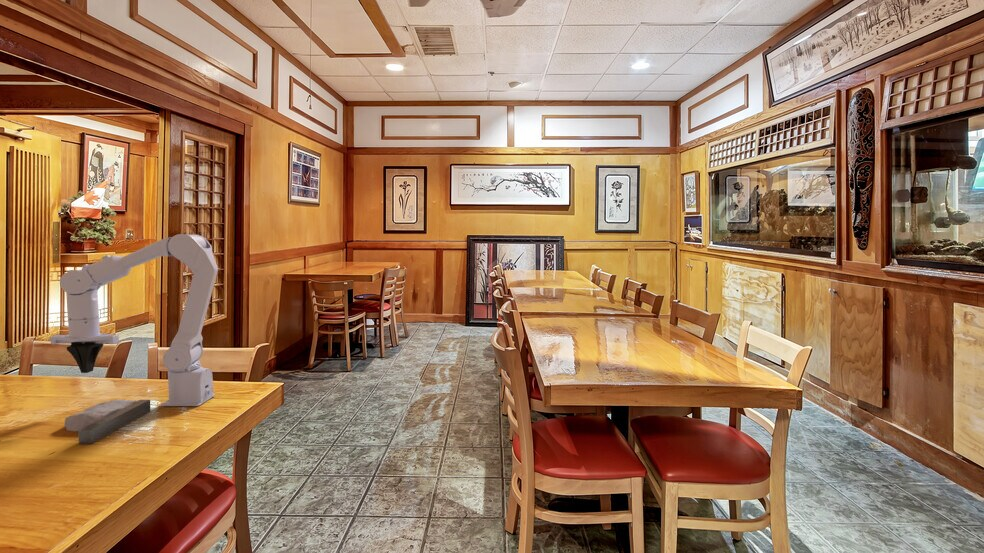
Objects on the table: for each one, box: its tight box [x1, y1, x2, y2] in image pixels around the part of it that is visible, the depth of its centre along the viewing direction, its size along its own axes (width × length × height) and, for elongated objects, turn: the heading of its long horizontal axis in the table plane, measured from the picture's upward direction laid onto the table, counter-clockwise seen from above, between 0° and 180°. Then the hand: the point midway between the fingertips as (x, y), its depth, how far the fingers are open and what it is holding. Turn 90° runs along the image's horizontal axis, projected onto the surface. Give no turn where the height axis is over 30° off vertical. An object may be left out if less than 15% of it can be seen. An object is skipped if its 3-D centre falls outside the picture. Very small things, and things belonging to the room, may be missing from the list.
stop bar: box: [77, 399, 152, 445], centre depth 104 cm, size 2×18×3 cm, turn 3°
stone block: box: [64, 399, 138, 432], centre depth 107 cm, size 12×5×10 cm
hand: (87, 371), depth 114 cm, fingers closed
